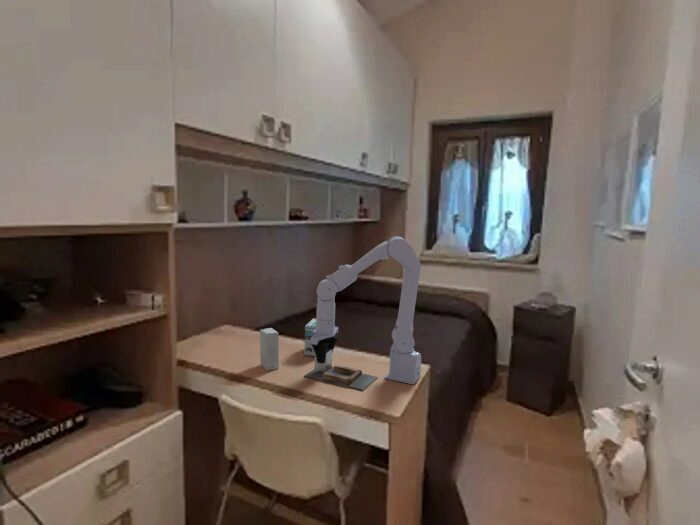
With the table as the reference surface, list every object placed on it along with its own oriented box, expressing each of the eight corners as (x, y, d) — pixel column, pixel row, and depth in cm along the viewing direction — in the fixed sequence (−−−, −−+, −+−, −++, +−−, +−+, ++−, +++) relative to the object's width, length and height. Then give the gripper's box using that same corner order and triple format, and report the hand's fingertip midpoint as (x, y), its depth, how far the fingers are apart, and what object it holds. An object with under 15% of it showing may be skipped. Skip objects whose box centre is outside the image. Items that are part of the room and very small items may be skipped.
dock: (377, 378, 141) (377, 372, 141) (363, 391, 131) (363, 384, 131) (321, 365, 149) (321, 360, 149) (303, 377, 139) (303, 371, 139)
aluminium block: (331, 367, 143) (332, 349, 143) (325, 371, 140) (326, 353, 139) (320, 365, 145) (321, 347, 144) (314, 369, 142) (314, 350, 141)
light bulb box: (322, 357, 157) (323, 327, 156) (303, 355, 158) (304, 325, 157) (329, 347, 167) (330, 319, 166) (312, 346, 169) (313, 317, 167)
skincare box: (279, 368, 145) (280, 332, 143) (266, 371, 143) (266, 334, 141) (271, 362, 150) (272, 327, 149) (259, 364, 148) (259, 328, 146)
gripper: (325, 311, 148) (324, 351, 150) (302, 321, 135) (301, 365, 137) (344, 314, 145) (343, 355, 147) (323, 325, 132) (321, 369, 134)
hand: (324, 360), depth 142 cm, fingers closed on aluminium block, 4 cm apart
